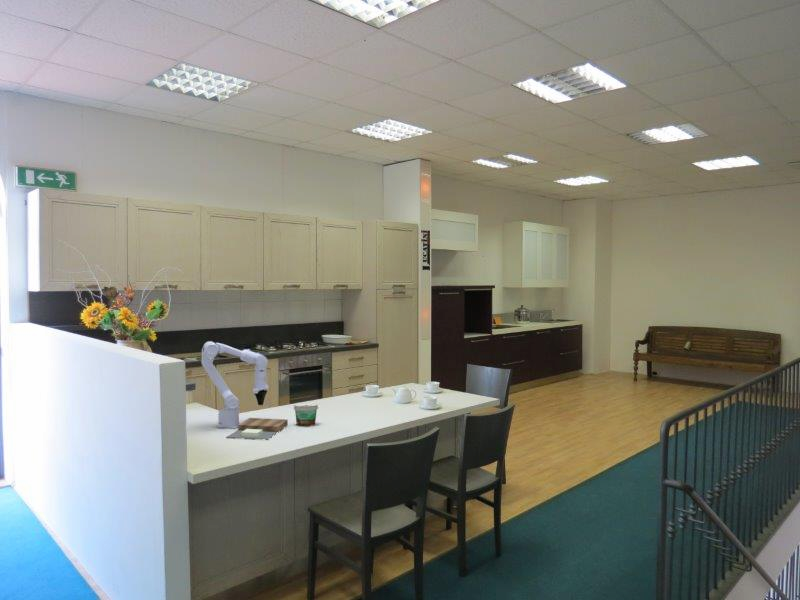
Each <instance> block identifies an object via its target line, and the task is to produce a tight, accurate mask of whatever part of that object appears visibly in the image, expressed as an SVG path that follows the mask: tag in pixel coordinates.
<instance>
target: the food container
mask: <svg viewBox="0 0 800 600" xmlns="http://www.w3.org/2000/svg"><path fill="white" fill-rule="evenodd" d="M318 409H319V405H318V404H315V405H306V404H305V405H295V404H294V406H293V410H294V411H295V420H296V422H295V423H296V425H297V426H298V425H299V426H298V427H311V426H310V425H312V426H315V425H316V419H317V411H318ZM314 424H315V425H314Z"/></svg>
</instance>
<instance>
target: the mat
mask: <svg viewBox="0 0 800 600" xmlns="http://www.w3.org/2000/svg"><path fill="white" fill-rule="evenodd" d="M242 431H243V430H238V429H237V430H236V431H234V432H232V433H231V434H229V435H227V436H226V439H235V438H244V439H243V440H255V439H267V440H266V441H268V439H269V438H270V439H272V438H273V437H274V436H275V435H277V434H278V433H277V432H264V431H263V434H262V435H260V436H259V437H242V436H241V432H242ZM276 433H277V434H276ZM273 435H274V436H273ZM272 436H273V437H272ZM270 439H269V440H270Z"/></svg>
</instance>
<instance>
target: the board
mask: <svg viewBox="0 0 800 600" xmlns="http://www.w3.org/2000/svg"><path fill="white" fill-rule="evenodd" d="M239 423H240V422H239ZM287 425H288V419H285V418H284V419H282V418H281V419H280V418H263V417H262V418H260V417H256V418H255V417H254V418H253V417H249V418H247V419H245V420H244V421H241V423H240V424H239V425H238V427H237V430H243V431H244V430H246V429H261V430H263V431H264V432H278V433H280V432H281V431H282V430H284V429H285V428H286V427H287ZM284 427H285V428H284ZM283 428H284V429H283ZM281 429H282V430H281ZM280 430H281V431H280ZM279 431H280V432H279Z"/></svg>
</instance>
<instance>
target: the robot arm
mask: <svg viewBox="0 0 800 600" xmlns="http://www.w3.org/2000/svg"><path fill="white" fill-rule="evenodd" d="M223 353H226V354H230V355H233V356H236V357H239V360H241V361H243V362H246V363H248V364H250V365H251V364H252V365H254V388H253V389H252V393H253V395H255V398H256V401H257V405H258V406H263V405H264V402H265V399H266V396H267V393H268V389H269V384H267V365H268V363H269V361H268V358H267V357H266V356H265V355H263V354H261V353H260V352H254V351H251V349H250V348H247V349H246V348H245V349H243V350H240V349H238V348H235V347H232V346H230V345H227V344H224V343H220V342H214V341H212V340H210V341H209V340H208V341H206V342H205V343H204V344H203V346H202V348H201V361H200V362H201V366H202V367H203V368H204V370H205V372H206V373H207V375H208V376H209V377H210V379H211V381H212V382H213V384H214V385H215V387H216V388H217V390H218V391H219V393H220V395H221V396H222V398H223V403H224V407H222V408H220V409H219V411H218V415H217V417H218V420H217V421H218V425H217V428H221V429H223V428H225V429H228V428H229V429H238V425H239V424H240V407H239V406H240V400H239V398H238V397H237V396H236V395H235V394H234V393H233V392H232V391H231V390H230V388H229V387H228V385H227V383H226V382H225V380H224V379H223V377H222V376H221V374H220V372H219V371H218V369H217V368H216V366H215V365H214V363H213V362H214V359H215V357H216V356H217V355H218V354H223Z"/></svg>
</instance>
